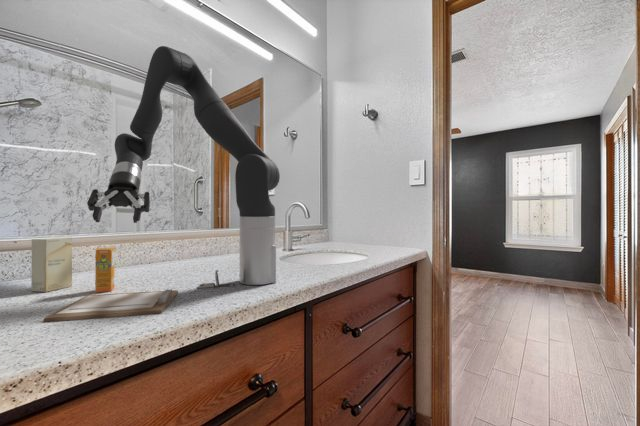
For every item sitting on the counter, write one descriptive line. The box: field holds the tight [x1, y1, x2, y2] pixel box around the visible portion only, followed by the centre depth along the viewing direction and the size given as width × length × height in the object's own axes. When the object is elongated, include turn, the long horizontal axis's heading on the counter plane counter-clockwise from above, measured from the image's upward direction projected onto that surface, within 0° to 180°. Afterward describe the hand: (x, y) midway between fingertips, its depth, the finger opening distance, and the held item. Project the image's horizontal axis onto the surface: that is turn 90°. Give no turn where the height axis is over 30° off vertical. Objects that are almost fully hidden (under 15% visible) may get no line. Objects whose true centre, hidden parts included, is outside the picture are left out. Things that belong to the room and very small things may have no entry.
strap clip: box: [197, 269, 235, 290], centre depth 74 cm, size 8×3×4 cm, turn 107°
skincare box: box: [31, 237, 73, 293], centre depth 71 cm, size 6×4×12 cm
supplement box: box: [94, 246, 116, 294], centre depth 70 cm, size 3×3×10 cm
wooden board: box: [43, 289, 179, 323], centre depth 59 cm, size 18×14×2 cm
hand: (116, 220), depth 79 cm, fingers open, 8 cm apart
